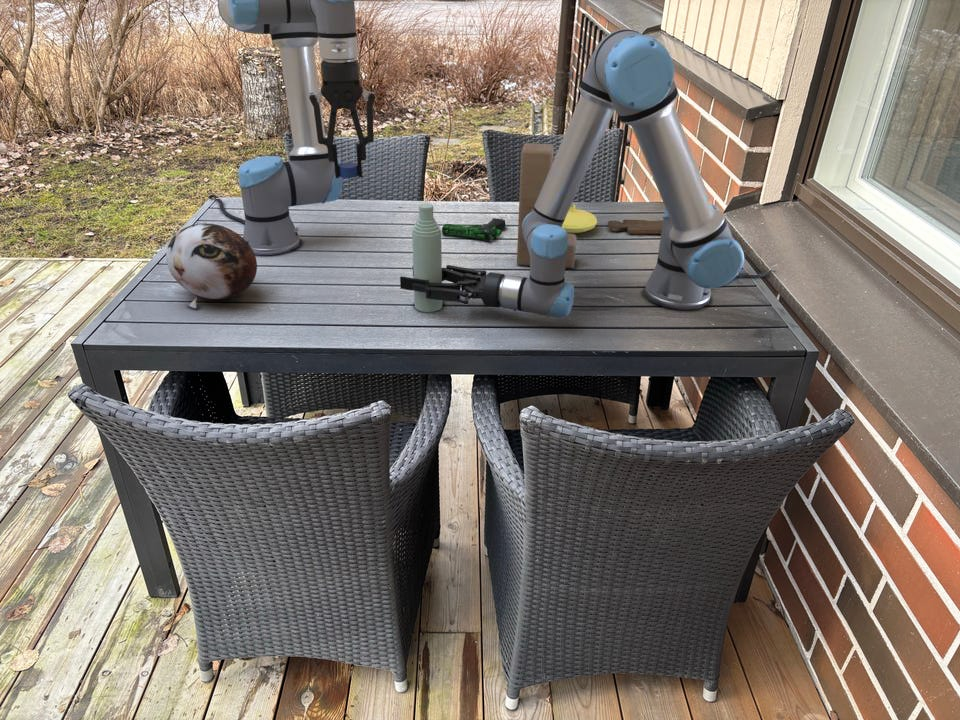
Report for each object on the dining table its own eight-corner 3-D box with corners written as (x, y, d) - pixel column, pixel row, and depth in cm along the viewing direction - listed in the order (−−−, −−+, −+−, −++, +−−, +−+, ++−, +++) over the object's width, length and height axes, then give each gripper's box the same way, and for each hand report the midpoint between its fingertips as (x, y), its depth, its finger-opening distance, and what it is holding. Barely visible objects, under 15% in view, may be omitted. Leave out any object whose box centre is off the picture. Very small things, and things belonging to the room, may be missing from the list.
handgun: (511, 219, 210) (493, 234, 198) (511, 228, 211) (492, 244, 199) (461, 212, 215) (440, 226, 203) (461, 221, 217) (440, 236, 204)
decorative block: (573, 269, 185) (584, 153, 170) (516, 265, 187) (521, 149, 171) (574, 258, 192) (584, 145, 176) (518, 254, 193) (523, 142, 178)
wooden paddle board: (699, 237, 207) (691, 225, 216) (700, 231, 206) (692, 220, 215) (610, 234, 207) (606, 222, 216) (611, 228, 207) (607, 217, 215)
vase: (559, 216, 220) (561, 193, 217) (605, 227, 212) (608, 204, 209) (532, 230, 209) (533, 207, 206) (580, 242, 201) (582, 218, 198)
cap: (357, 172, 157) (357, 161, 156) (359, 177, 153) (359, 167, 152) (337, 173, 156) (336, 162, 155) (339, 178, 152) (338, 168, 151)
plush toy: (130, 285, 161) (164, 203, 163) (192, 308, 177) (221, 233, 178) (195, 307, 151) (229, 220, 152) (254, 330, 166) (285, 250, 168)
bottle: (442, 312, 164) (440, 210, 151) (414, 312, 163) (410, 210, 151) (442, 299, 169) (440, 200, 157) (415, 300, 169) (411, 200, 157)
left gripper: (294, 63, 138) (307, 182, 150) (384, 61, 141) (390, 179, 153) (295, 57, 144) (308, 172, 156) (381, 56, 147) (387, 169, 159)
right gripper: (489, 325, 152) (390, 308, 158) (514, 289, 168) (423, 275, 174) (490, 293, 148) (388, 277, 154) (515, 259, 164) (423, 246, 170)
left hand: (348, 175), depth 155 cm, fingers closed on cap, 4 cm apart
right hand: (407, 276), depth 164 cm, fingers closed on bottle, 6 cm apart
